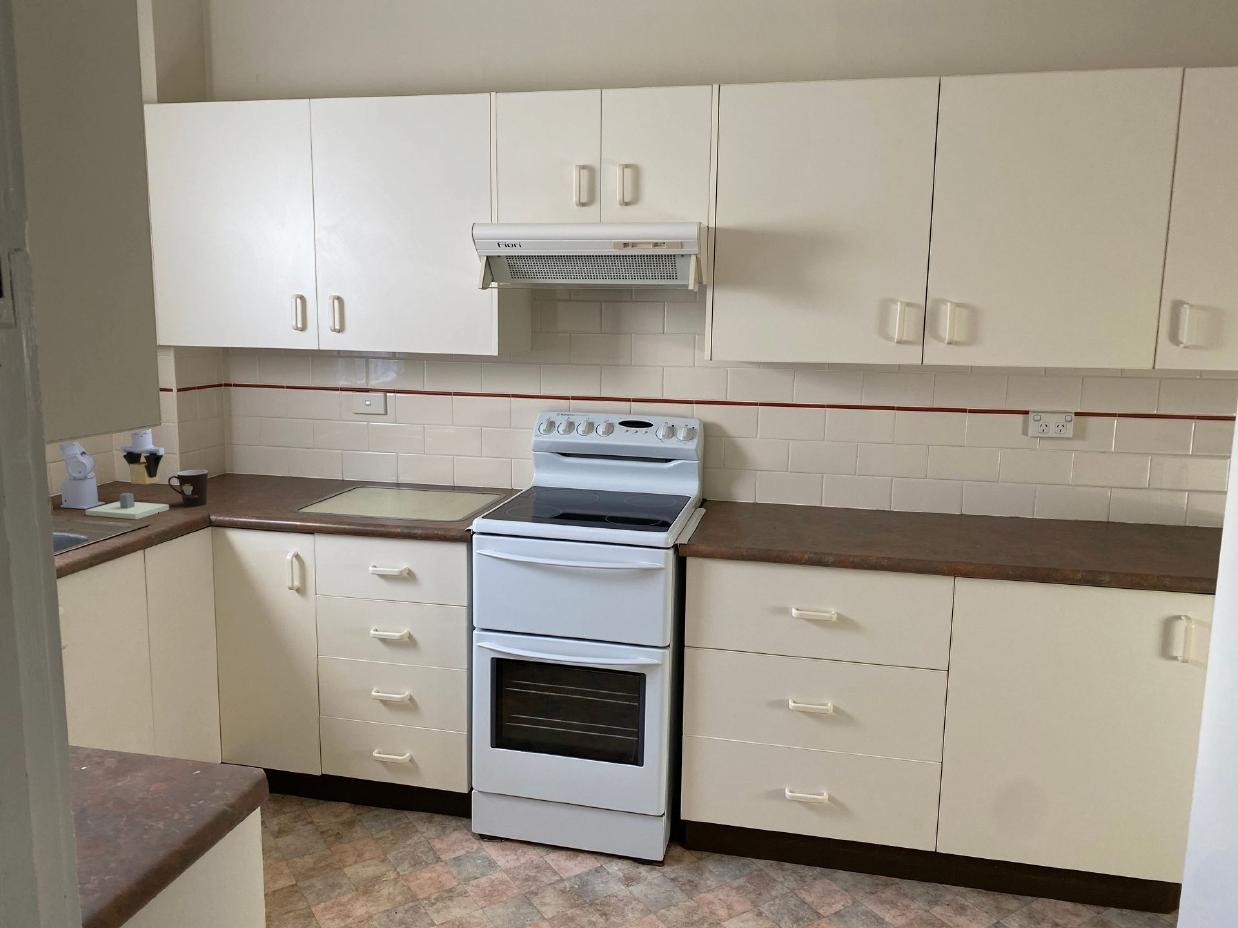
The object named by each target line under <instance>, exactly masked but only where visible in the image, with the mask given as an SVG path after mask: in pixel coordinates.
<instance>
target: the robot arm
mask: <svg viewBox="0 0 1238 928" xmlns="http://www.w3.org/2000/svg"><path fill="white" fill-rule="evenodd" d="M130 441H131V445H123V446H120V451H121V453H122V454H123V456H122V457H123V458H124V460H125V461H126V462H127V463H126V464H128V466H129V467H130V464H132V463H137V462H141V461H142V455H143V454H144V455H143V458H144V461H146V463H147V466H148V472H149V476H150V478H153V477H156V476H157V470H158V467H159V466H160V463H161V461H162V459H163V457H164V455H165V448H164V447H159V446H155V445H153V435H152V428H151V429H149V430H146V431H138V432H135V433H131V432H130ZM57 446H58V447H59V450H60V451H61V454H62V458H63V459H62V460H63V461H64V463H65V469H66V472H67V474H68V476H67V477H65V478H63V480H61V483H60V493H61V501H62V504H61V505H60V508H68V509H79V510H80V509H81V510H88V509H92V508H95V507H99V506H103V505H106V502H105V501H99V496H98V494H99V493H98V485H97V477H96V475H97V474H95V472H94V471H93V470H94V469H95V468H96V460H95V458H94V457H93V455H91V454H89V453H88V452H87V451H86V450H85V448H84V447H83V446H82V445H81V444H79V441H77V442H73V443H64V444H60V445H58V444H57Z"/></svg>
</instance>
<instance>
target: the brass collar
mask: <svg viewBox="0 0 1238 928" xmlns="http://www.w3.org/2000/svg"><path fill="white" fill-rule="evenodd" d="M129 473H130V474H129V476H130V483H131V484H135V485H136V484H137V485H138V484H139V485H149V484H153V483H157V482H160V468H159V466H158V470H157V476H156V477H153V478H150V476H149V472H148V466H147V463H146V460H141V461H140V462H137V463H132V464H130V466H129Z"/></svg>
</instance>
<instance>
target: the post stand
mask: <svg viewBox="0 0 1238 928" xmlns="http://www.w3.org/2000/svg"><path fill="white" fill-rule="evenodd" d="M84 510H85V515H86V516H92V517H104V518H105V517H106V518H117V519H127V520H128V519H129V520H138V519H141V518H146V517H149V516H152V515H156V514H159V513H162V512H166V511H169V510H170V505H169V504H164V503H154V502H153V503H151V502H139V501H135V499H134V493H131V492H125V493H120V494H119V501H114V502H111V503H107V504H102V505H98V506H94V507H91V508H87V509H84ZM158 512H159V513H158Z"/></svg>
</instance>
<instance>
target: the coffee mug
mask: <svg viewBox="0 0 1238 928" xmlns="http://www.w3.org/2000/svg"><path fill="white" fill-rule="evenodd" d="M208 474H209V471H208V470H205V469H191V470H190V469H189V470H183V471H179V472H177V473H176V475H172V476H170V477H169V478H168V480H167V483H168V486H169V487H170V488H171V489H172V490H173V491H175V492H176V493H177V494H179V495H181V499H182V502H183V503H182V504H183V506H184V507H187V508H189V507H191V508H192V507H194V508H195V507H201V506H205V505H207V497H208ZM174 478H175V479H177V480H178V484H179V489H180V490H178V488H175V487H174V485H172V484H171V480H172V479H174Z"/></svg>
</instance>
